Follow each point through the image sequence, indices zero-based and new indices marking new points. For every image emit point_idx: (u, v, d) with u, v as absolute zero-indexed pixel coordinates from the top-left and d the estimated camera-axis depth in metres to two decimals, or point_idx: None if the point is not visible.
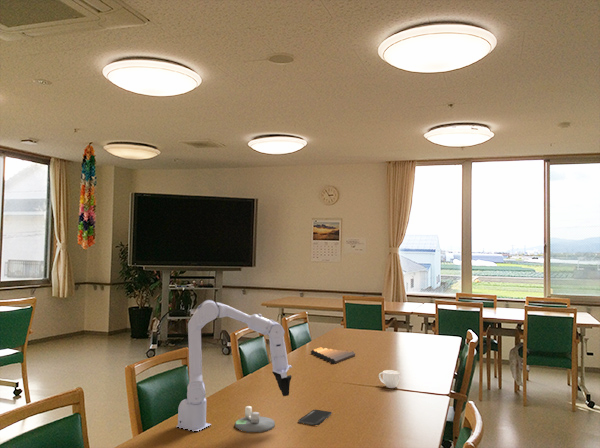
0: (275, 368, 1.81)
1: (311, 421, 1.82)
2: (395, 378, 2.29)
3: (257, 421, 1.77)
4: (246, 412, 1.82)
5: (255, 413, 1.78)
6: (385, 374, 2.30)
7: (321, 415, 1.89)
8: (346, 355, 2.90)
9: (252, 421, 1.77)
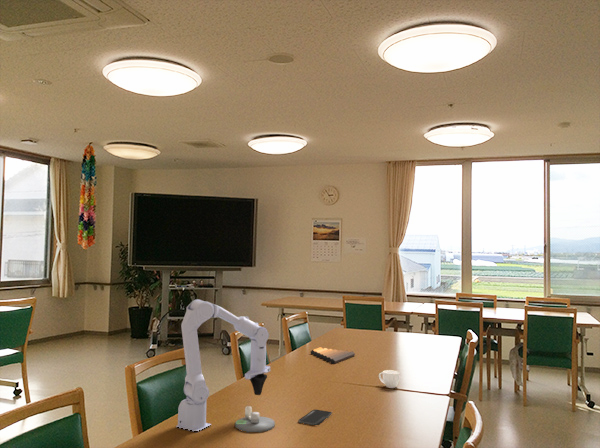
0: None
1: (311, 421, 1.82)
2: (395, 378, 2.29)
3: (257, 421, 1.77)
4: (246, 412, 1.82)
5: (255, 413, 1.78)
6: (385, 374, 2.30)
7: (321, 415, 1.89)
8: (346, 355, 2.90)
9: (252, 421, 1.77)
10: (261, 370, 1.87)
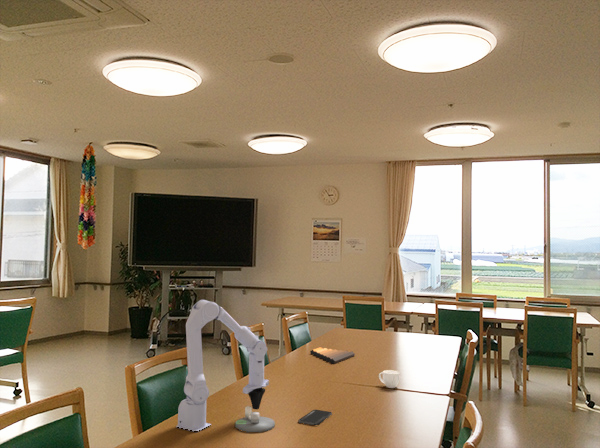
0: None
1: (311, 421, 1.82)
2: (395, 378, 2.29)
3: (257, 421, 1.77)
4: (246, 412, 1.82)
5: (255, 413, 1.78)
6: (385, 374, 2.30)
7: (321, 415, 1.89)
8: (345, 355, 2.90)
9: (252, 421, 1.77)
10: (259, 384, 1.86)
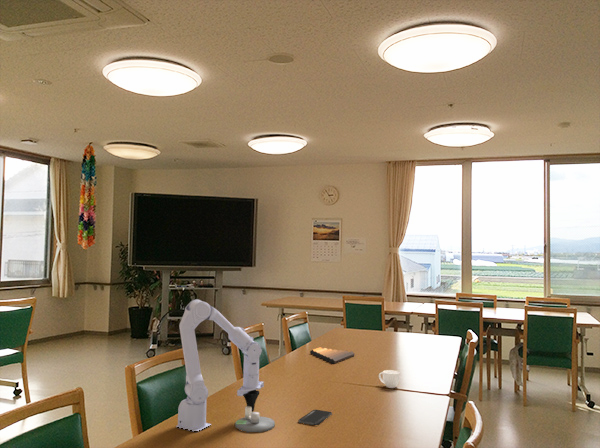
0: (243, 384, 1.85)
1: (311, 421, 1.82)
2: (395, 378, 2.29)
3: (257, 421, 1.77)
4: (246, 412, 1.82)
5: (255, 413, 1.78)
6: (385, 374, 2.30)
7: (321, 415, 1.89)
8: (345, 355, 2.90)
9: (252, 421, 1.77)
10: (254, 386, 1.83)
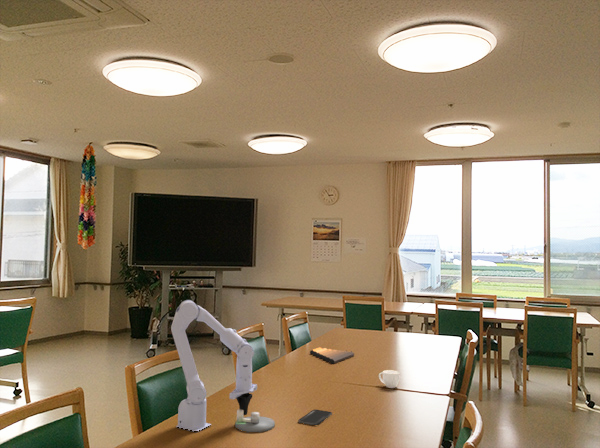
0: (236, 387, 1.81)
1: (311, 421, 1.82)
2: (395, 377, 2.29)
3: None
4: (240, 415, 1.78)
5: (255, 413, 1.79)
6: (385, 374, 2.30)
7: (321, 415, 1.89)
8: (345, 355, 2.90)
9: (255, 421, 1.77)
10: (247, 389, 1.79)
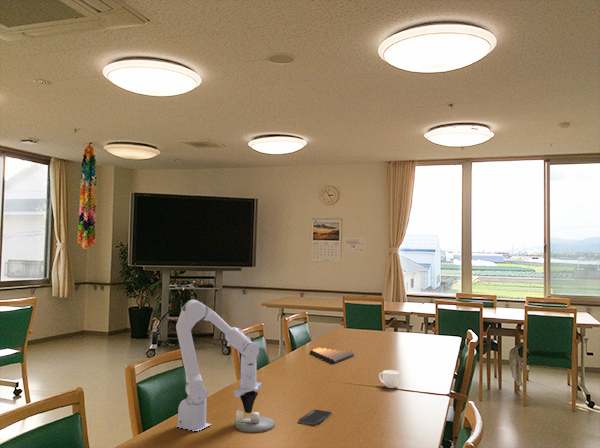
0: None
1: (311, 421, 1.82)
2: (395, 378, 2.29)
3: None
4: (240, 416, 1.78)
5: (255, 413, 1.79)
6: (385, 374, 2.30)
7: (321, 415, 1.89)
8: (345, 355, 2.90)
9: (256, 421, 1.77)
10: (251, 387, 1.81)
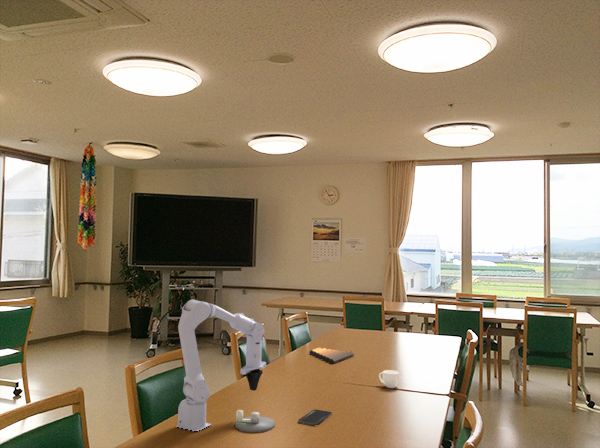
0: (246, 364, 1.90)
1: (311, 421, 1.82)
2: (395, 378, 2.29)
3: None
4: (240, 416, 1.78)
5: (255, 413, 1.79)
6: (385, 374, 2.30)
7: (321, 415, 1.89)
8: (345, 355, 2.90)
9: (256, 421, 1.77)
10: (257, 365, 1.88)
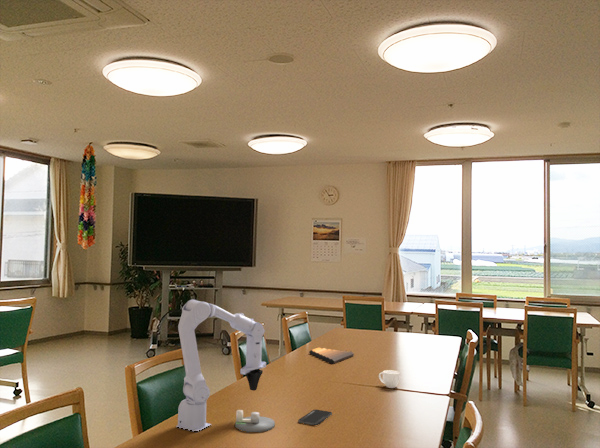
0: (246, 364, 1.90)
1: (311, 421, 1.82)
2: (395, 378, 2.29)
3: None
4: (240, 416, 1.78)
5: (255, 413, 1.79)
6: (385, 374, 2.30)
7: (321, 415, 1.89)
8: (345, 355, 2.90)
9: (256, 421, 1.77)
10: (257, 365, 1.88)
